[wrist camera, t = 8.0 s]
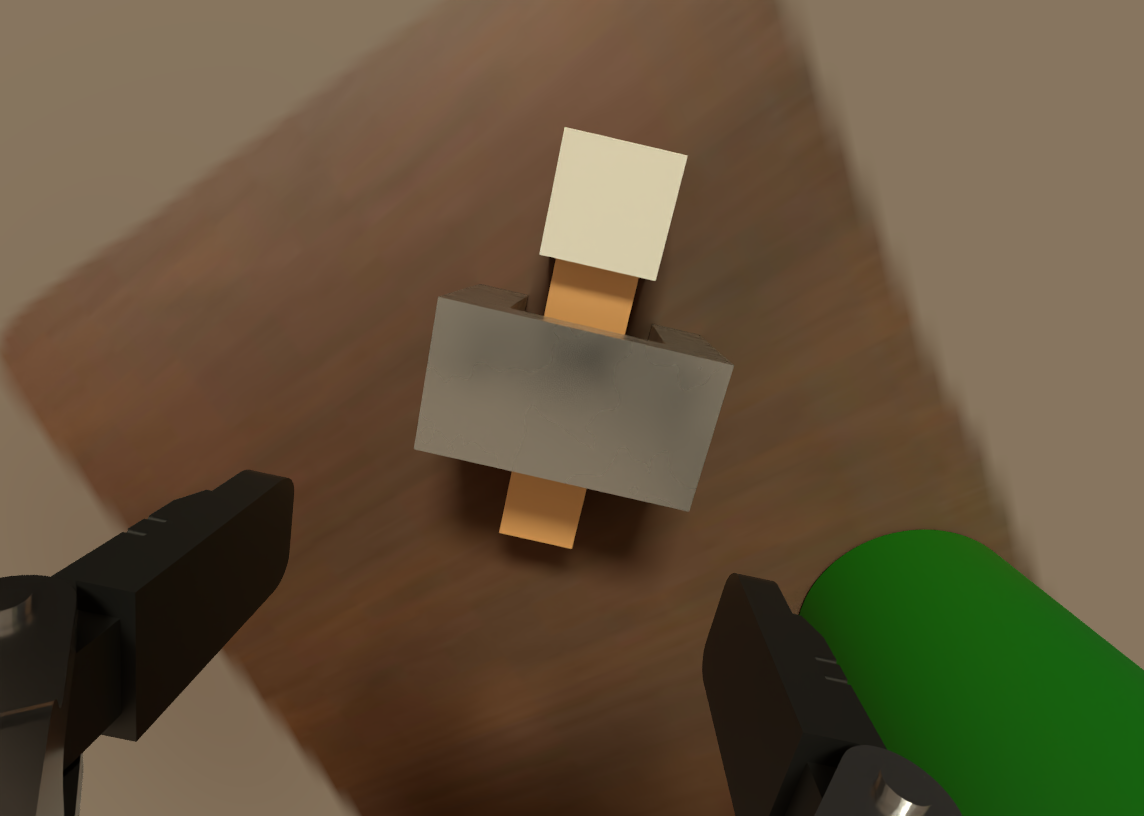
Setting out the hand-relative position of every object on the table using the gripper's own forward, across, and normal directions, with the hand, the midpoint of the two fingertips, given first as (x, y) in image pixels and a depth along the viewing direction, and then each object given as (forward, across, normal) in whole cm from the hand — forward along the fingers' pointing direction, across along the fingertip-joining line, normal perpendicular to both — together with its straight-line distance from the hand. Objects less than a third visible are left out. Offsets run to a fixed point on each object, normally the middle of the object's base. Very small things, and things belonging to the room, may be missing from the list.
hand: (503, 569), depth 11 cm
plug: (+15, -1, -2) cm, 15 cm away
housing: (+15, -1, -1) cm, 15 cm away
